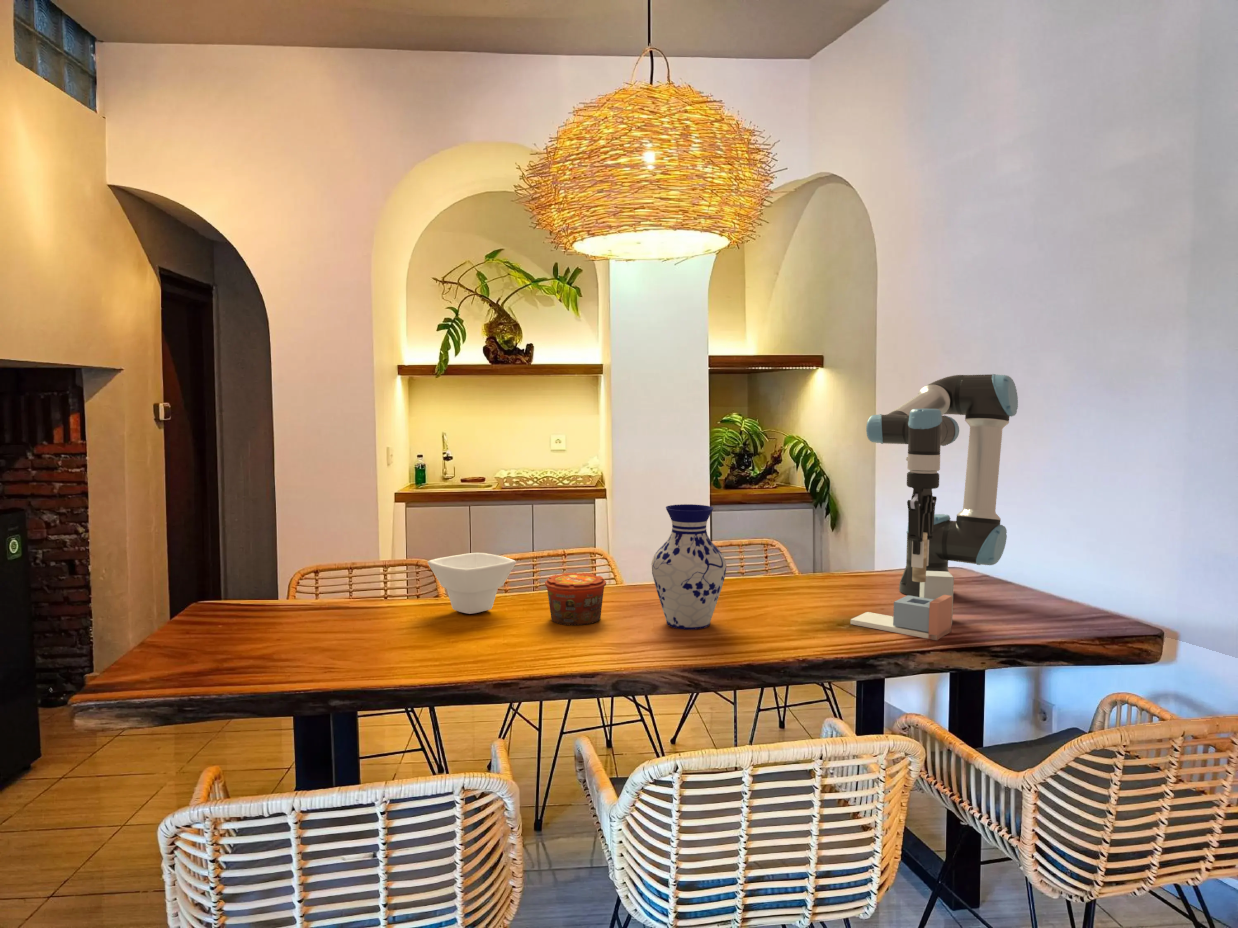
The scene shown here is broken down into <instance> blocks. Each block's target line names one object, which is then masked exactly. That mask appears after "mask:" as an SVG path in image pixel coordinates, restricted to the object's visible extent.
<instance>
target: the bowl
mask: <svg viewBox="0 0 1238 928" xmlns="http://www.w3.org/2000/svg"><path fill="white" fill-rule="evenodd" d="M516 564H517V561H516V560H514V559H512V558H509V557H505V556H503V555H498V554H491V553H486V552H471V553H470V552H469V553H462V554H456V555H450V556H449V555H448V556H444V557H438V558H434V559H433V558H432V559H430V560H427V565H428V566H429V568H430V570H431V572H432V573H433V574H434V576H435V578H436V579H437V581H438V583H439V584H440V586H441V587H442V588H444V589H446V592H447V594H448V599H449V602H450V605H451V608H452V609H453V610H454V611H456V612H459V613H463V614H467V615H468V614H469V615H470V614H477V613H481V612H485V611H489V610H492V608H493V606H494V603H495V599H496V595H497V594H498V593H497V592H498V589H499V588H500V587H503V586H504V584H505V582H506V581H507V579H508V578H509V575H510V574H511V572H512V570H513V569H514V568H515V565H516Z"/></svg>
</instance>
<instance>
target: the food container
mask: <svg viewBox="0 0 1238 928" xmlns="http://www.w3.org/2000/svg"><path fill="white" fill-rule="evenodd" d="M544 585H545V588H546V589H547V597H548V598H547V599H548V603H549V604H548V605H549V611H550V618H551V622H554V623H555V624H559V625H563V626H584V625H590V624H594V623H596V622H598V621H600V620H601V619H602V618H601V617H602V608H603V599H604V592H605V591H604V590H605V587H606V585H607V581H606V579H604V577H603V576H601V575H596V574H595V573H587V572H582V573H577V572H566V573H562V574H554V575H551V576H549V577H548V578H547V580H545V581H544Z"/></svg>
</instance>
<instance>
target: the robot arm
mask: <svg viewBox="0 0 1238 928" xmlns="http://www.w3.org/2000/svg"><path fill="white" fill-rule="evenodd" d="M1017 390H1018V389H1017V386H1016V384H1015V381H1014V379H1013V378H1012V377H1011V376H1010V375H1006V374H994V373H992V374H991V373H990V374H956V375H955V374H953V375H950V376H945V377H943V378H939V379H937V380H935V381H933V382H931V383H928V384H927V385H925V386H923V387H922V388H921V389H920V390H919V391H918V393H917V395H916V396H914V397H912V398H911V399H910V400H907V401H906V402H905V403H903V404H901V405H900V406H898V407H897V408H895V409H894V410H892V411H891V412H889V413H887V414H882V413H881V414H880V413H879V414H872V415H871V416H869V418H868V419H867V422H866V429H865V430H866V437H867V439H868V440H869V442H871V443H875V444H876V443H877V444H882V445H884V444H888V445H889V444H890V445H892V444H893V445H907V457H906V458H905V460H906V461H907V470H908V471H907V473H906V486H907V487H908V488H912V494H911V499H908V500H907V501H906V503H907V513H908V514H907V517H908V518H907V521H908V522H907V531H906V562H905V563H906V564H905V568H904V571H903V573H902V575H901V578H900V580H899V584H898V585H899V588H898V590H899V592H900V593H901V594H904V595H906V596H907V595H909V596H916V597H920V582H914V581H912V568H913V567H917V568H923V560H924V541H922V540H923V532H925V533H927V560H926V571H944V572H949V573H950V571H949V561H951V562H959V563H963V564H972V565H973V564H974V565H977V566H982V565H983V566H984V565H985V566H994V565H996V564H997V563H998V562H999V561H1000V560H1001V558H1002V556H1003V554H1004V551H1005V547H1006V543H1007V540H1008V539H1007V538H1008V536H1007V533H1008V532H1007V531H1008V530H1007V528H1006V526H1005V525H1003V524H1001V522H1002V521H1001V517H1000V516H999V514H997V513H996V508H997V507H996V506H997V499H998V498H997V495H998V488H999V487H998V486H999V485H998V484H999V475H1000V461H1001V451H1002V449H1001V448H1002V440H1003V439H1002V438H1003V429H1004V428H1005V427H1007V425H1008V424H1009V423H1010V417H1011V418H1012V417H1014V416H1016V414H1017V412H1018V408H1019V397H1018V392H1017ZM947 415H958V416H959V415H960V416H965V417H964V421H965V422H966V424H967V425H968V426H969V435H968V448H967V459H966V472H965V479H964V480H965V483H964V493H963V504H962V505H963V506H962V509H961V511H959V512H958V513H957V514H956V519H955V520H951V516H950V515H949V514H944V513H942V514H937V513H936V504H937V503H936V502H937V500H938V499H937V496H935V495H934V496H933V489H934V490H935V489H938V488H939V487H940V474H939V473H938V472H939V471H940V470H941V446H942V447H944V446H947V445H951V444H952V443H954V442H955V441H956V440H957V439H958V438H959V434H960V427H959V424H958V422H957V421H956V420H955V419H954V418H953V417H951V416H947ZM953 590H954V588H953Z"/></svg>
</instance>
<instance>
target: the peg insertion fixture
mask: <svg viewBox="0 0 1238 928" xmlns="http://www.w3.org/2000/svg"><path fill="white" fill-rule="evenodd" d="M951 621H952V622H953V616H952V596H950V595H943V596H941V597H939V598H937V599H935V600H933V601H931V602H930V606H929V632H925V631H920V630H915V629H909V628H904V627H898V626H893V616H892V615H887V614H883V613H882V614H881V613H877V612H876V613H875V612H871V611H866V612H864V613H861V614H859V615H857V616H855V617H852V618H850V625H854V626H859V627H864V628H870V629H875V630H880V631H885V632H891V633H896V634H902V635H907V636H912V637H918V638H923V639H928V640H933V641H938V640H939V639H941V638H943V637H944V636H946V635H948V634H949V633H952V625H951Z"/></svg>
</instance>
